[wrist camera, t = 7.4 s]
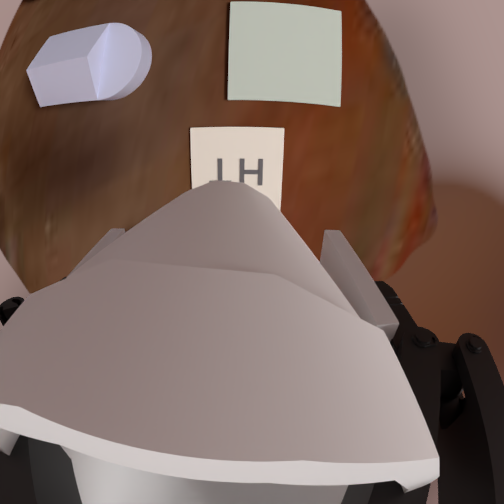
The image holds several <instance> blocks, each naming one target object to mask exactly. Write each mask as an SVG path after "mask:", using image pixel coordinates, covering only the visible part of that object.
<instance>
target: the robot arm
mask: <svg viewBox="0 0 504 504" xmlns="http://www.w3.org/2000/svg"><path fill="white" fill-rule="evenodd" d="M124 233H125V229H111V230H110V231H109V232H108V233H107V234H106V235H105V236H104V237H103V238H102V239H101V240H100V241H99V242H98V243H97V244H96V245H95V246H94V247H93V248H92V249H91V251H90V252H89V253H88V254H87V255H86V256H85V257H84V258H83V259H82V260H81V262H80V263H79V264H78V265H77V266H76V267H75V268H74V269H73V271H72V272H71V273H70V274H72V273H73V272H74V271H75V270H77V269H78V268H79V267H80V266H82V265H83V264H84V263H86V262H87V261H88V260H89V259H91V258H92V257H93V256H95V255H96V254H97V253H98V252H100V251H101V250H102V249H104V248H105V247H106V246H108V245H109V244H111V243H112V242H113V241H115V240H116V239H117V238H119V237H120V236H121V235H123V234H124ZM320 264H321V265H322V266H323V268H324V269H325V270H326V272H327V273H328V274H329V276H330V277H331V278H332V280H333V281H334V282H335V284H336V285H337V287H338V288H339V289H340V291H341V292H342V293H343V295H344V296H345V298H346V299H347V300H348V302H349V303H350V304H351V306H352V307H353V309H354V310H355V311H356V313H357V314H358V316H359V317H360V319H362V320H364V321H366V322H368V323H370V324H372V325H374V326H376V327H378V328H380V329H381V330H383V331H384V332H385V334H386V336H387V338H388V340H389V342H390V344H391V346H392V348H393V350H394V352H395V354H396V356H397V358H398V361H399V363H400V365H401V367H402V369H403V371H404V373H405V375H406V378H407V380H408V382H409V384H410V386H411V389H412V391H413V393H414V395H415V398H416V400H417V402H418V405H419V407H420V409H421V412H422V414H423V417H424V419H425V421H426V424H427V426H428V429H429V431H430V434H431V436H432V439H433V442H434V444H435V447H436V450H437V452H438V455H439V477H438V500H439V501H438V503H439V504H504V385H503V382H502V380H501V377H500V374H499V372H498V369H497V367H496V364H495V362H494V360H493V357H492V355H491V353H490V351H489V348H488V346H487V344H486V343H485V341H484V340H482V339H481V338H480V337H479V336H477V335H475V334H471V333H465V334H462V335H461V336H460V337H459V339H458V341H457V343H456V344H453V343H445V342H439V340H438V338H437V337H436V335H435V334H434V333H433V332H431V331H430V330H428V329H425V328H423V327H418V326H417V325H416V323H415V322H414V320H413V319H412V317H411V316H410V314H409V312H408V311H407V309H406V308H405V306H404V305H402V302H401V300H400V299H399V298H398V296H397V294H396V293H395V291H394V290H393V288H391V287H390V286H389V285H388V284H386V283H385V282H384V281H373V279H372V277H371V276H370V274H369V273H368V271H367V270H366V268H365V267H364V265H363V264H362V262H361V261H360V259H359V258H358V256H357V255H356V253H355V252H354V250H353V249H352V247H351V246H350V244H349V243H348V241H347V240H346V239H345V237H344V236H343V234H342V233H341V231H340V230H325V231H324V238H323V245H322V252H321V259H320ZM70 274H69V275H70ZM69 275H68V276H69ZM68 276H67V277H68ZM67 277H64V278H63V279H62V280H64V279H66V278H67ZM60 281H61V280H60ZM23 302H24V299H23V298H21V297H13V298H10V299H8V300H6V301H4V302H3V303H2V304H1V305H0V321H1V323H2V325H3V326H4V325H5V324H6V322H7V321H8V320H9V319H10V317H11V316H12V315H13V314H14V312H15V311H16V310H17V309H18V308H19V306H20V305H21V304H22V303H23ZM463 390H464V393H465V398H464V397H463V395H462V391H463ZM429 488H430V483H429V484H427V485H425V486H422V487H419V488H417V489H414V490H411V491H409V492H406V493H404V491H403V488H402V486H401V484H399V483H398V482H397V481H395V480H393V481H385V482H376V483H366V484H353V485H348V487H347V490H346V492H345V495H344V497H343V500H342V502H341V504H426V501H427V497H428V492H429ZM0 504H82V501H81V497H80V494H79V490H78V486H77V482H76V478H75V474H74V470H73V465H72V460H71V458H70V457H69V456H68V455H67V453H66V452H65V451H64V450H63V448H62V447H61V446H60V445H58V444H54V443H50V442H46V441H42V440H38V439H34V438H30V437H27V436H23V435H19V437H18V439H17V441H16V443H15V445H14V447H13V449H12V451H11V453H10V455H7V454H5V453H4V452H2V451H1V450H0Z"/></svg>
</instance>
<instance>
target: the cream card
mask: <svg viewBox="0 0 504 504" xmlns="http://www.w3.org/2000/svg"><path fill="white" fill-rule="evenodd" d="M190 140H191V175H192V189H194V188H196V187H199V186H201V185H204V184H206V183H209V182H212V181H214V180H218V181H230V182H241V183H245V184H247V185H249V186H250V187H252V188H254V189H255V190H257V191H259V192H260V193H262V194H264V195H265V196H267V197H269V199H270V200H271V201H272V202H273V203H274V204H275V206H276V207H277V208H278V209H279V211H280V206H281V188H282V169H283V147H284V128H270V127H199V128H190Z"/></svg>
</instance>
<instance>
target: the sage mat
mask: <svg viewBox="0 0 504 504" xmlns="http://www.w3.org/2000/svg"><path fill="white" fill-rule="evenodd" d="M341 70H342V24H341V11H336V10H331V9H325V8H319V7H312V6H304V5H295V4H285V3H271V2H230V28H229V61H228V100H265V101H285V102H299V103H310V104H320V105H329V106H337V107H340V101H341Z"/></svg>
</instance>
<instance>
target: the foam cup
mask: <svg viewBox="0 0 504 504" xmlns="http://www.w3.org/2000/svg"><path fill="white" fill-rule="evenodd" d="M19 435H23V436H27V437H30V438H34V439H38V440H42V441H46V442H50V443H54V444H58V445H60V446H61V447H62V448H63V450H64V451H65V452H66V453H67V455H68V456H69V457H70V458H71V460H72V465H73V470H74V474H75V478H76V482H77V486H78V490H79V494H80V497H81V501H82V503H83V504H341V502H342V500H343V497H344V495H345V492H346V490H347V487H348V485H353V484H366V483H376V482H385V481H393V480H395V481H397V482H398V483H399V484H401V486H402V488H403V491H404V493H406V492H409V491H411V490H414V489H417V488H419V487H422V486H425V485H427V484H429V483H431V482H432V481H434V480H435V479H437V478H438V477H439V455H438V452H437V450H436V447H435V444H434V442H433V439H432V436H431V434H430V431H429V429H428V426H427V424H426V421H425V419H424V417H423V414H422V412H421V409H420V407H419V405H418V402H417V400H416V398H415V395H414V393H413V391H412V389H411V386H410V384H409V382H408V380H407V378H406V375H405V373H404V371H403V369H402V367H401V365H400V363H399V361H398V358H397V356H396V354H395V352H394V350H393V348H392V346H391V344H390V342H389V340H388V338H387V336H386V334H385V332H384V331H383V330H381V329H380V328H378V327H376V326H374V325H372V324H370V323H368V322H366V321H364V320H362V319H360V317H359V316H358V314H357V313H356V311H355V310H354V309H353V307H352V306H351V304H350V303H349V302H348V300H347V299H346V298H345V296H344V295H343V293H342V292H341V291H340V289H339V288H338V287H337V285H336V284H335V282H334V281H333V280H332V278H331V277H330V276H329V274H328V273H327V272H326V270H325V269H324V268H323V266H322V265H321V264H320V262H319V261H318V260H317V258H316V257H315V256H314V254H313V253H312V252H311V250H310V249H309V248H308V246H307V245H306V244H305V243H304V241H303V240H302V239H301V237H300V236H299V235H298V233H297V232H296V231H295V230H294V228H293V227H292V226H291V224H290V223H289V222H288V221H287V219H286V218H285V217H284V216H283V214H282V213H281V212H280V211H279V209H278V208H277V207H276V206H275V204H274V203H273V202H272V201H271V200H270V199H269V197H267V196H265V195H264V194H262V193H260V192H259V191H257V190H255V189H254V188H252V187H250V186H249V185H247V184H245V183H241V182H230V181H218V180H214V181H212V182H209V183H206V184H204V185H201V186H199V187H196V188H194V189H191V190H189V191H187V192H185V193H183V194H182V195H180V196H179V197H177V198H176V199H174V200H172V201H171V202H169V203H168V204H166V205H165V206H163V207H162V208H160V209H159V210H157V211H156V212H154V213H153V214H151V215H150V216H148V217H147V218H146V219H144V220H143V221H141V222H140V223H138V224H137V225H135V226H134V227H133V228H131V229H130V230H128V231H127V232H126V233H124V234H123V235H121V236H120V237H119V238H117V239H116V240H115V241H113V242H112V243H111V244H109V245H108V246H106V247H105V248H104V249H102V250H101V251H100V252H98V253H97V254H96V255H95V256H93V257H92V258H91V259H89V260H88V261H87V262H86V263H84V264H83V265H82V266H80V267H79V268H78V269H77V270H75V271H74V272H73V273H72V274H70V275H69V276H68V277H67V278H66V279H64V280H61V281H59V282H57V283H55V284H52V285H50V286H48V287H46V288H43V289H41V290H39V291H37V292H35V293H32V294H30V295H29V296H28V297H27V298H26V299H25V300H24V302H23V303H22V304H21V305H20V306H19V308H18V309H17V310H16V311H15V312H14V314H13V315H12V316H11V317H10V319H9V320H8V321H7V322H6V324H5V325H4V326H3V328H2V329H1V330H0V450H1V451H2V452H4V453H5V454H7V455H10V453H11V451H12V449H13V447H14V445H15V443H16V441H17V439H18V437H19Z"/></svg>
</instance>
